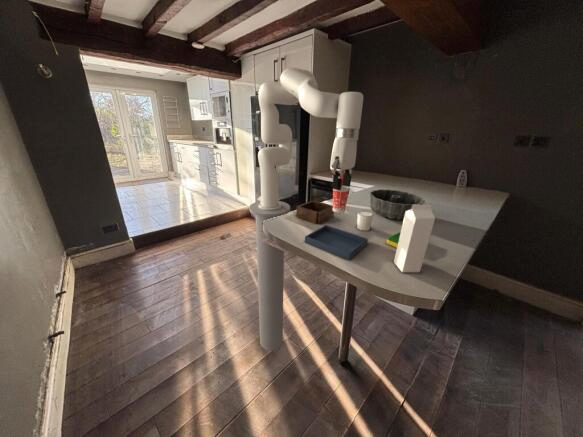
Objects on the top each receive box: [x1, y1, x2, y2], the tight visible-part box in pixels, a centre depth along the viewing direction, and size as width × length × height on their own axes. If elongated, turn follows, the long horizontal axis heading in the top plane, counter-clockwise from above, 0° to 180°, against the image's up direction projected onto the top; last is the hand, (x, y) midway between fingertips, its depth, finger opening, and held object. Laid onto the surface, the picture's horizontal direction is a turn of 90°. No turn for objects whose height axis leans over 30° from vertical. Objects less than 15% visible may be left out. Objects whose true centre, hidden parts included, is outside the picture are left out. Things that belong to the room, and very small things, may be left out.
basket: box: [295, 200, 335, 225], centre depth 116 cm, size 14×14×6 cm
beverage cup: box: [332, 172, 351, 214], centre depth 84 cm, size 6×6×14 cm
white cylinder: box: [356, 210, 375, 232], centre depth 104 cm, size 7×7×7 cm
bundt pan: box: [369, 189, 426, 221], centre depth 121 cm, size 26×26×10 cm
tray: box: [304, 224, 369, 261], centre depth 91 cm, size 19×15×2 cm
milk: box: [393, 204, 436, 273], centre depth 73 cm, size 6×6×22 cm
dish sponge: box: [386, 231, 401, 249], centre depth 93 cm, size 7×14×2 cm, turn 128°
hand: (341, 187), depth 83 cm, fingers closed on beverage cup, 6 cm apart
